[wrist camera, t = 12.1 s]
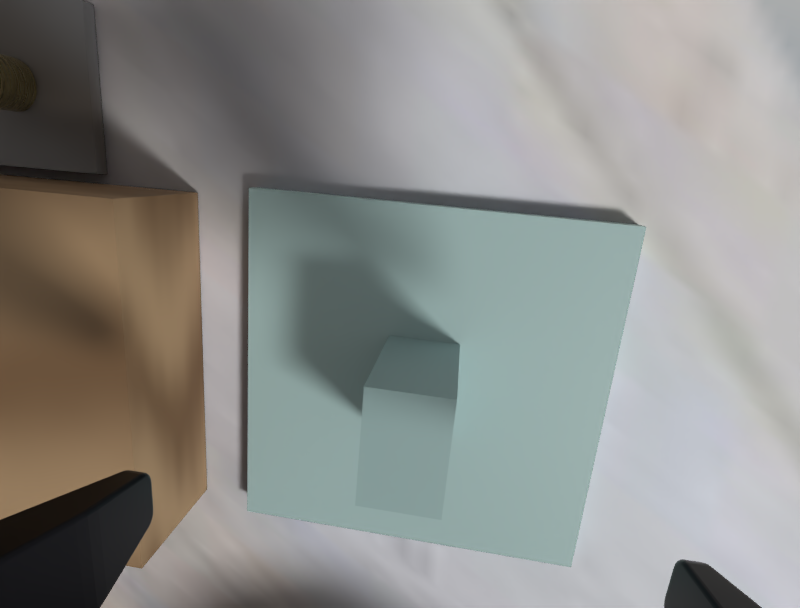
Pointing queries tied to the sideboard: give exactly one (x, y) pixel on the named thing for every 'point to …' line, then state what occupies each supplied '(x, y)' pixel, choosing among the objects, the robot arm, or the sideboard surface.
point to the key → (16, 85)
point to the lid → (431, 367)
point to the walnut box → (91, 295)
